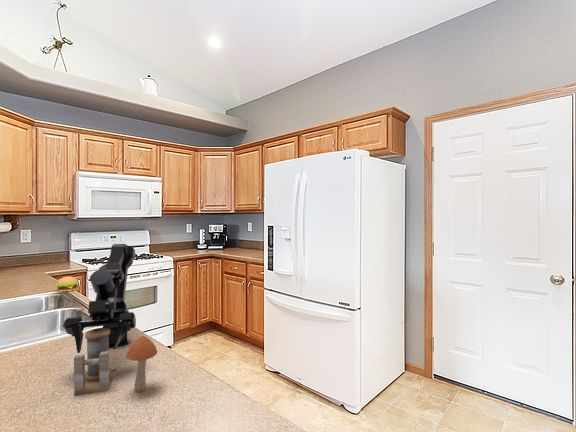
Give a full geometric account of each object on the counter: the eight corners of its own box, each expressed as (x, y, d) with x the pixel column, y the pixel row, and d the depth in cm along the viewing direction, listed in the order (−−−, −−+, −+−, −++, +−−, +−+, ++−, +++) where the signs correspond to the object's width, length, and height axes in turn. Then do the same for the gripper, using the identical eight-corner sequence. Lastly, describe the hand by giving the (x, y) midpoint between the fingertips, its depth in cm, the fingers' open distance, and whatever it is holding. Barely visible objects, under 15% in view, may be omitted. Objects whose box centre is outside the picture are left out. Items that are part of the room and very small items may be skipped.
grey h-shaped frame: (86, 375, 98) (85, 342, 98) (116, 371, 101) (115, 339, 100) (74, 395, 88) (73, 358, 87) (107, 390, 90) (107, 354, 90)
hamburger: (82, 288, 210) (82, 274, 209) (72, 292, 198) (72, 278, 198) (62, 288, 208) (62, 275, 208) (51, 293, 196) (51, 279, 196)
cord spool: (105, 368, 101) (104, 326, 100) (115, 374, 97) (114, 330, 96) (82, 376, 96) (81, 332, 95) (91, 383, 92) (90, 337, 91)
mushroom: (164, 384, 93) (163, 332, 93) (143, 400, 85) (142, 342, 85) (141, 380, 96) (140, 328, 95) (119, 394, 88) (118, 339, 88)
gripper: (64, 291, 97) (50, 342, 86) (134, 286, 102) (128, 334, 92) (74, 309, 104) (62, 359, 94) (138, 304, 110) (133, 350, 99)
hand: (96, 350), depth 94 cm, fingers open, 9 cm apart
